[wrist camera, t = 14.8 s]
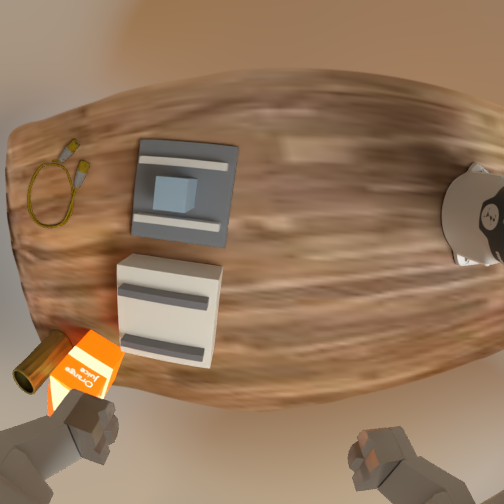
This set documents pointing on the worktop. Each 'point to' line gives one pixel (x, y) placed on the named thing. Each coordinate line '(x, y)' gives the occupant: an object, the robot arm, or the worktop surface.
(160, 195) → the plug
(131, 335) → the block
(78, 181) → the coiled cable
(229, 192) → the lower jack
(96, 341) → the orange juice
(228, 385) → the worktop surface
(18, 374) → the vase
